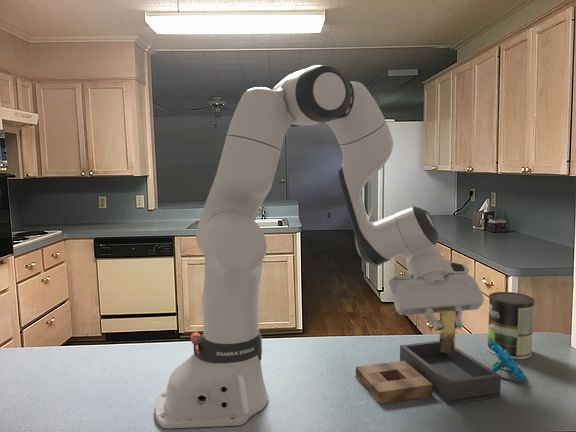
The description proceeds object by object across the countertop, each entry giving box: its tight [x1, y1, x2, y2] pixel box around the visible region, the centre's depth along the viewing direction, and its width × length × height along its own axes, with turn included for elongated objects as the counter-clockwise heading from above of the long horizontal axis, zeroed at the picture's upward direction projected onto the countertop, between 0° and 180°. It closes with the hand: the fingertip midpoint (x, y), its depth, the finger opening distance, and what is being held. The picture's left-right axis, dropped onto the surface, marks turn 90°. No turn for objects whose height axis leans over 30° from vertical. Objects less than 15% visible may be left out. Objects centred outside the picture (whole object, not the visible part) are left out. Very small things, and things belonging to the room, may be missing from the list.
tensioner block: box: [355, 360, 434, 405], centre depth 97 cm, size 12×12×2 cm
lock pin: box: [439, 308, 456, 353], centre depth 99 cm, size 3×3×9 cm
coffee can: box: [487, 291, 535, 360], centre depth 114 cm, size 10×10×14 cm
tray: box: [399, 340, 502, 406], centre depth 100 cm, size 12×20×4 cm, turn 14°
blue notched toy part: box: [489, 341, 527, 382], centre depth 102 cm, size 11×6×10 cm
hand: (448, 328), depth 99 cm, fingers closed on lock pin, 3 cm apart
